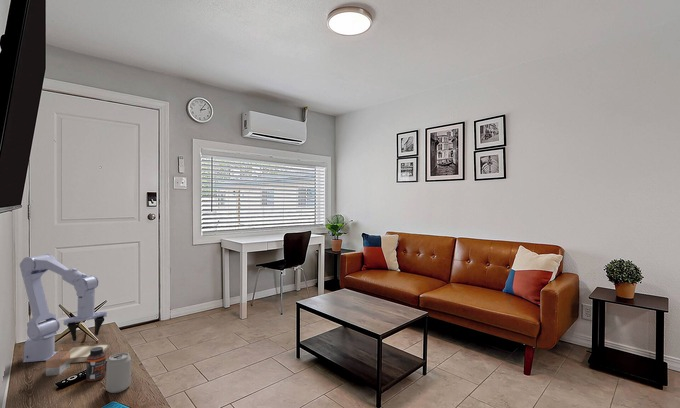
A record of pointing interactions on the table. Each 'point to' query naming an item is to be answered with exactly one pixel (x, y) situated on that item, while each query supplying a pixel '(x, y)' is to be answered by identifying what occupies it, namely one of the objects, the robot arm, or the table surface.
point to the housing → (57, 363)
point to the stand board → (84, 352)
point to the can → (118, 372)
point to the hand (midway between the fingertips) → (85, 337)
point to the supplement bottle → (96, 364)
